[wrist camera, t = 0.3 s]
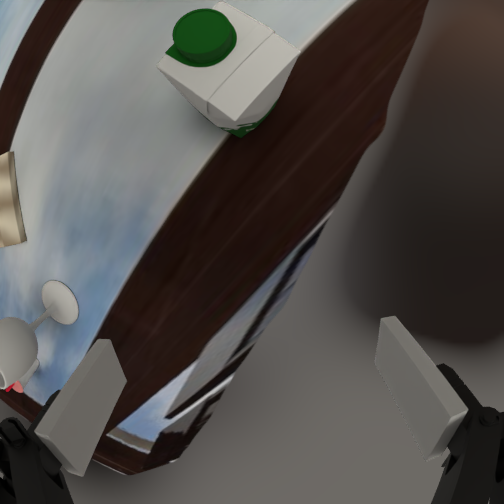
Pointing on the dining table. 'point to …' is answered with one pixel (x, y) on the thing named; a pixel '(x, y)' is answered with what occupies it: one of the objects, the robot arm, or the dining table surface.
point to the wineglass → (32, 332)
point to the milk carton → (228, 66)
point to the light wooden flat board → (9, 204)
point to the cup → (24, 379)
